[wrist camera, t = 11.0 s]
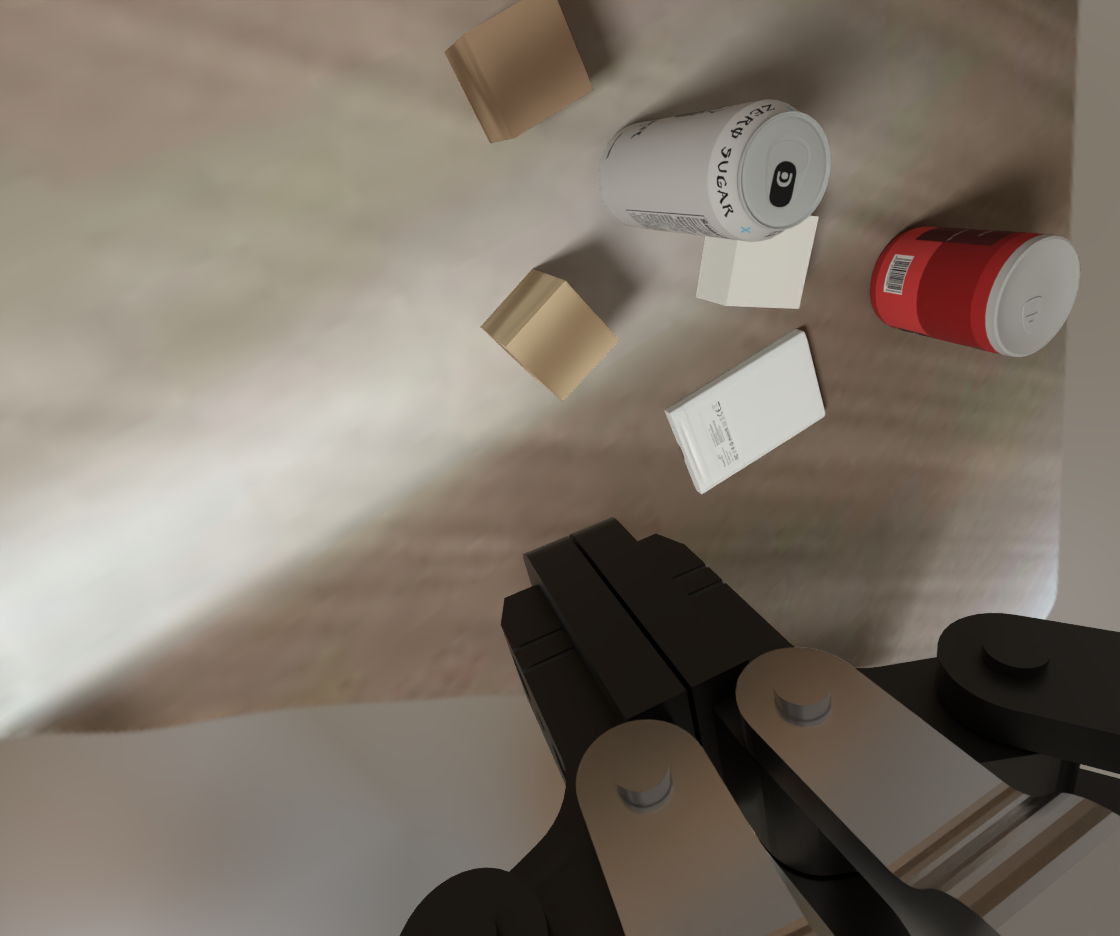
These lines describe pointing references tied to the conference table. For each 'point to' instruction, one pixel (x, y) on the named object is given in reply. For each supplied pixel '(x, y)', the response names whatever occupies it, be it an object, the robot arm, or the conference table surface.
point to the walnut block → (519, 68)
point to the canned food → (977, 287)
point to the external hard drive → (747, 411)
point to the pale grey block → (757, 269)
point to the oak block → (550, 332)
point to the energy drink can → (718, 171)
